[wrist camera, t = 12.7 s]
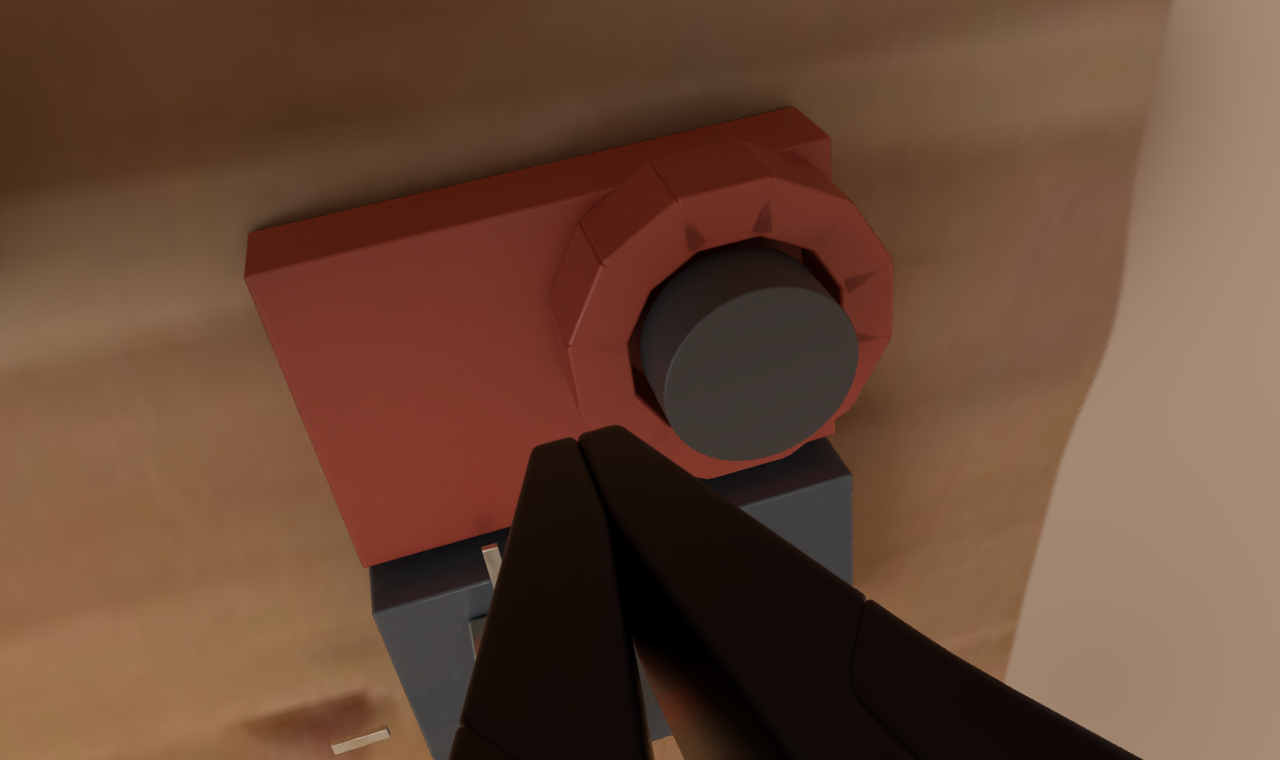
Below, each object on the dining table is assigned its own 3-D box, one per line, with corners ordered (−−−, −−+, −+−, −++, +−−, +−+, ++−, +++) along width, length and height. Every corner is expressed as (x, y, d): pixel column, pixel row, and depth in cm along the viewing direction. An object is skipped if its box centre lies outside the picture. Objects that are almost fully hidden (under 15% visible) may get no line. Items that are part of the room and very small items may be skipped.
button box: (359, 514, 25) (367, 632, 22) (238, 211, 20) (226, 307, 17) (820, 387, 27) (889, 479, 24) (812, 80, 22) (898, 145, 19)
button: (651, 433, 22) (675, 483, 20) (626, 272, 19) (652, 317, 18) (824, 385, 22) (859, 432, 21) (820, 223, 20) (859, 263, 19)
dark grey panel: (381, 762, 31) (388, 858, 28) (266, 520, 25) (262, 614, 22) (813, 627, 33) (856, 704, 30) (804, 373, 27) (856, 444, 24)
